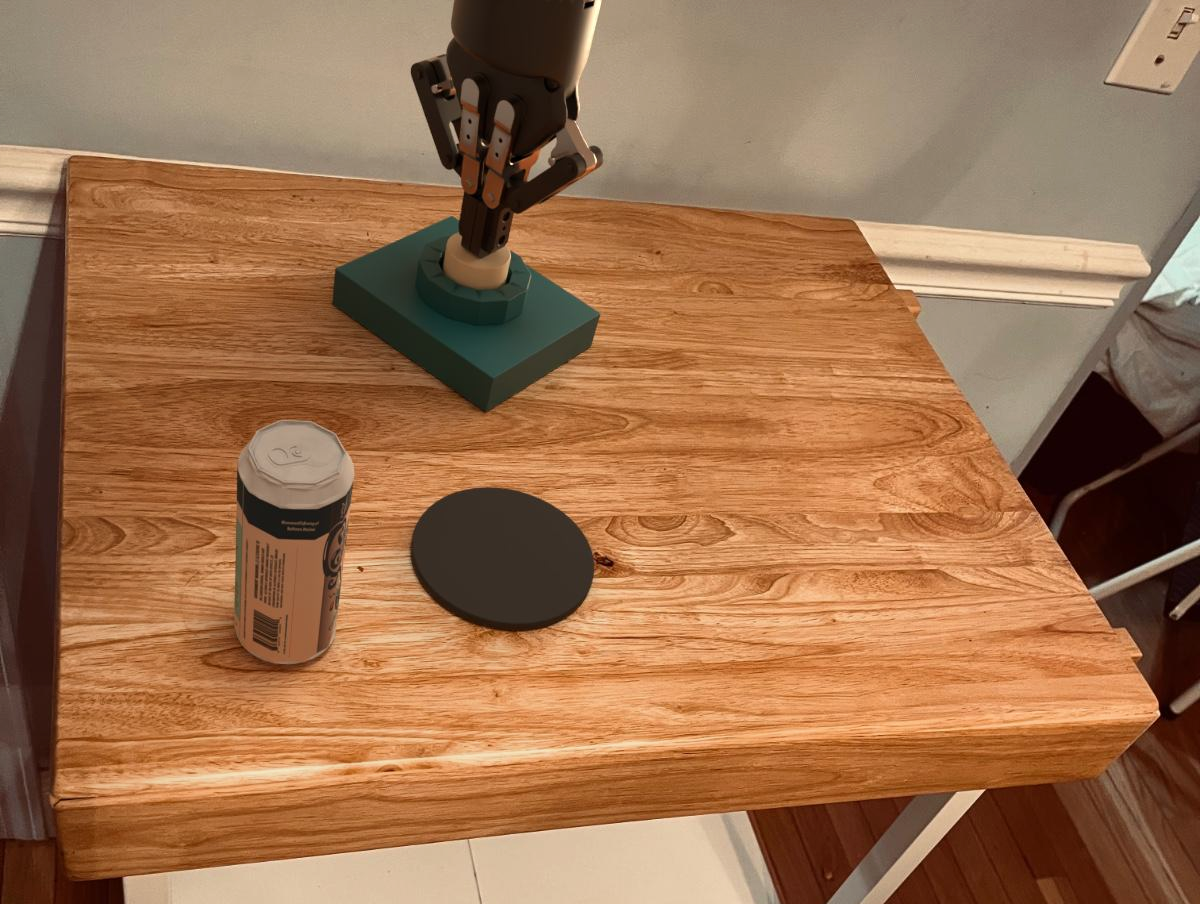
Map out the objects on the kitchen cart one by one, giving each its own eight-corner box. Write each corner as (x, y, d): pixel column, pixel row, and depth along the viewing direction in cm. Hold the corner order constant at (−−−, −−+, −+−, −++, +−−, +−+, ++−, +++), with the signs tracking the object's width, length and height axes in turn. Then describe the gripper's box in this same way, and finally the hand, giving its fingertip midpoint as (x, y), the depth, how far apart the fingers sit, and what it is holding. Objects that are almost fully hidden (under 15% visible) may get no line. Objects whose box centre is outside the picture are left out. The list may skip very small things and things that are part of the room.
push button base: (331, 304, 76) (337, 243, 72) (446, 249, 83) (455, 191, 79) (485, 412, 72) (498, 354, 69) (591, 346, 79) (607, 290, 76)
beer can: (350, 655, 58) (374, 479, 49) (254, 682, 56) (261, 501, 47) (314, 585, 60) (331, 404, 52) (220, 607, 58) (221, 422, 49)
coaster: (371, 551, 63) (372, 543, 62) (492, 469, 69) (494, 461, 69) (515, 662, 60) (517, 655, 60) (627, 566, 67) (629, 559, 66)
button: (428, 271, 74) (433, 243, 72) (470, 251, 76) (475, 223, 75) (477, 304, 73) (482, 276, 71) (518, 282, 75) (524, 254, 74)
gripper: (389, -88, 60) (359, 215, 72) (593, 29, 56) (524, 326, 69) (485, -107, 65) (440, 180, 77) (678, 1, 61) (599, 283, 74)
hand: (480, 249), depth 73 cm, fingers closed
